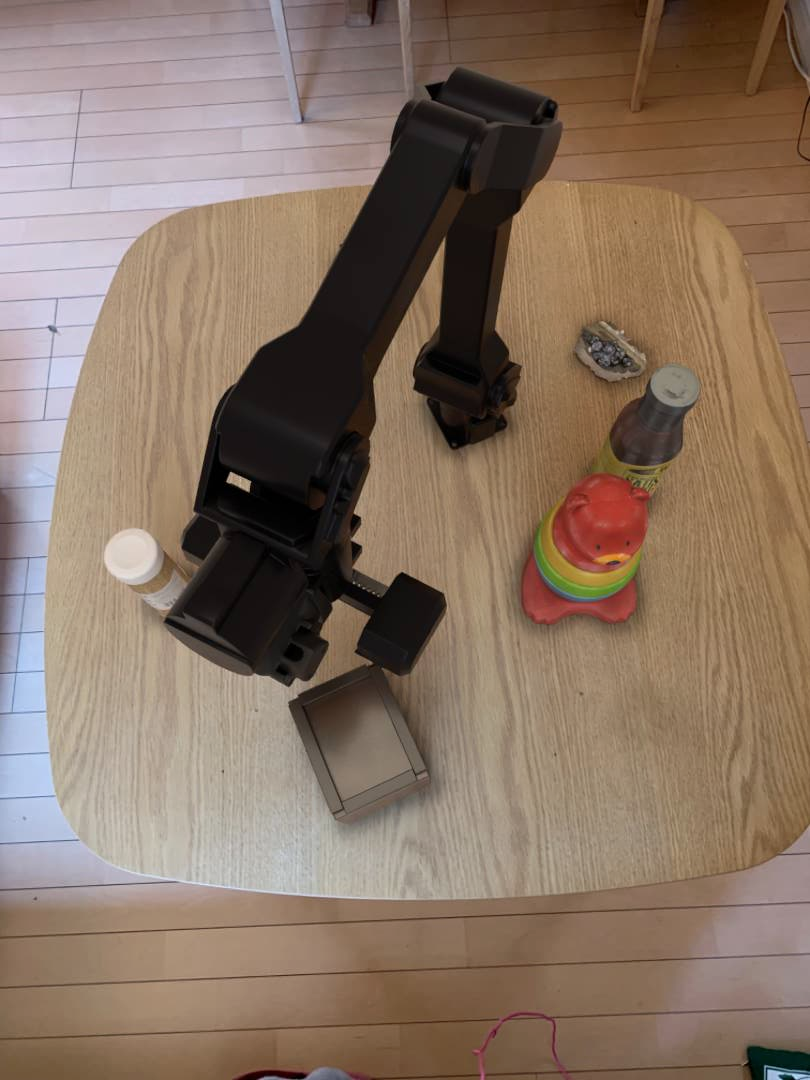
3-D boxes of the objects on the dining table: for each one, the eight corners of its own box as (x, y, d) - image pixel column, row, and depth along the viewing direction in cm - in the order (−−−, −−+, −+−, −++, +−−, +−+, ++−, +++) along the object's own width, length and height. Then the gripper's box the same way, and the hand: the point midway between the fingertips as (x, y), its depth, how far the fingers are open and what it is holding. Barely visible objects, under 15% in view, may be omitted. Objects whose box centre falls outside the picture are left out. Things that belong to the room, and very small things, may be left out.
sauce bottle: (606, 530, 83) (657, 437, 65) (573, 478, 85) (613, 374, 66) (663, 500, 84) (729, 401, 65) (629, 450, 86) (683, 340, 67)
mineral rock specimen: (588, 315, 92) (591, 305, 90) (658, 343, 90) (663, 333, 88) (563, 364, 90) (566, 355, 88) (635, 393, 88) (639, 384, 86)
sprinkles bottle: (190, 567, 83) (146, 517, 71) (206, 608, 82) (165, 563, 69) (146, 587, 83) (94, 540, 70) (162, 628, 81) (112, 587, 68)
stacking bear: (522, 625, 80) (546, 566, 63) (516, 525, 84) (537, 444, 67) (637, 624, 80) (691, 564, 63) (627, 523, 83) (675, 441, 67)
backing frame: (305, 719, 78) (285, 699, 67) (384, 683, 79) (377, 658, 68) (347, 824, 74) (333, 820, 64) (430, 785, 75) (429, 775, 65)
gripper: (103, 560, 52) (161, 648, 65) (368, 709, 48) (370, 769, 62) (210, 429, 56) (242, 537, 70) (459, 555, 53) (441, 643, 66)
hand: (319, 620), depth 67 cm, fingers open, 9 cm apart
